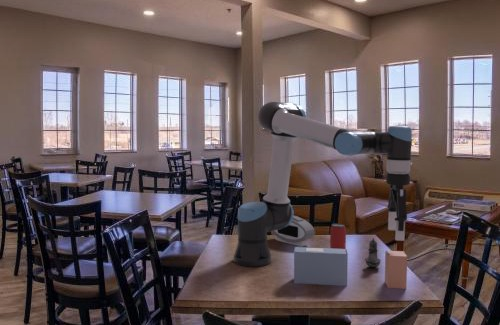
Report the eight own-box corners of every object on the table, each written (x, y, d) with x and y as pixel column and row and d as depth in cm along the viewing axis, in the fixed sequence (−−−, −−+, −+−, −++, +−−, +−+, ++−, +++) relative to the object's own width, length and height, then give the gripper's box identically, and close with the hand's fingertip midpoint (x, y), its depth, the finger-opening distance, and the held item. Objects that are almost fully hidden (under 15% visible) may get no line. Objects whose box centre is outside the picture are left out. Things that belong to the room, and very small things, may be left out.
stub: (387, 287, 141) (388, 255, 140) (384, 281, 146) (385, 250, 146) (406, 288, 140) (407, 256, 139) (402, 282, 146) (403, 250, 145)
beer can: (336, 255, 179) (336, 227, 178) (327, 251, 185) (327, 224, 184) (348, 253, 181) (349, 225, 181) (339, 249, 187) (339, 222, 187)
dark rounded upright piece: (364, 270, 159) (364, 239, 158) (365, 265, 164) (366, 235, 163) (380, 272, 157) (380, 240, 156) (381, 267, 162) (381, 237, 161)
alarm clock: (269, 239, 206) (269, 213, 205) (278, 236, 210) (278, 211, 209) (306, 248, 189) (306, 220, 188) (314, 246, 193) (315, 218, 192)
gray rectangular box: (293, 283, 145) (294, 251, 145) (294, 277, 151) (295, 246, 150) (347, 286, 143) (347, 253, 142) (345, 280, 149) (346, 248, 148)
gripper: (419, 177, 127) (416, 245, 129) (402, 169, 152) (400, 226, 154) (393, 176, 128) (390, 244, 130) (380, 168, 153) (378, 225, 155)
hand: (395, 235), depth 142 cm, fingers open, 13 cm apart
